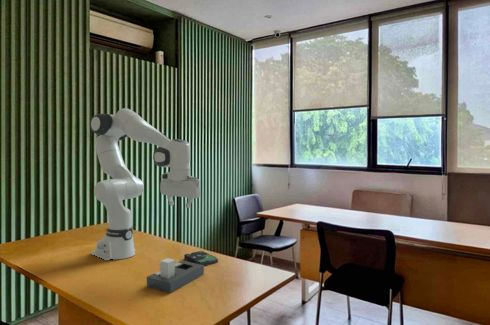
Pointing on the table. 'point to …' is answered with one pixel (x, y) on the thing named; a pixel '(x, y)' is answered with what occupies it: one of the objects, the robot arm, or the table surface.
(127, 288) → the table surface
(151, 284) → the panel
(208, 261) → the disk drive
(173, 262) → the plug
